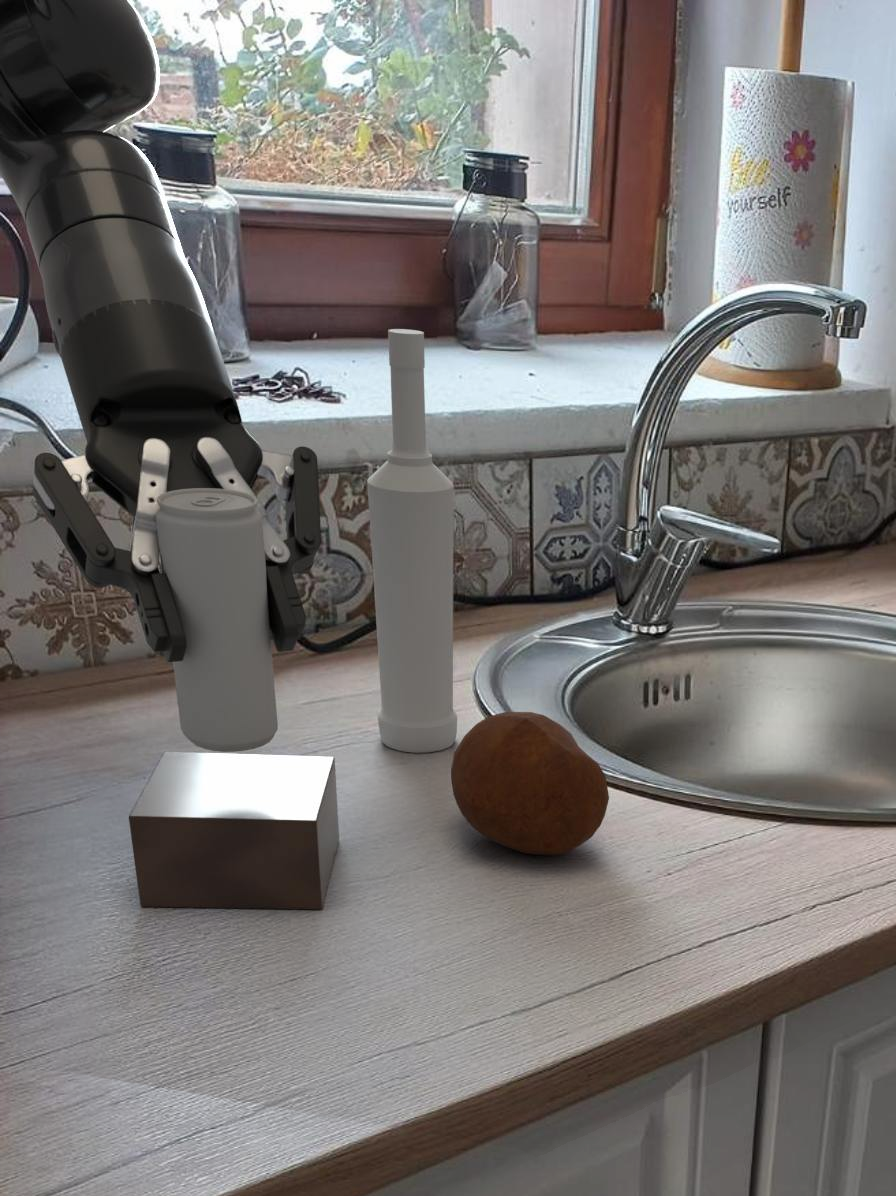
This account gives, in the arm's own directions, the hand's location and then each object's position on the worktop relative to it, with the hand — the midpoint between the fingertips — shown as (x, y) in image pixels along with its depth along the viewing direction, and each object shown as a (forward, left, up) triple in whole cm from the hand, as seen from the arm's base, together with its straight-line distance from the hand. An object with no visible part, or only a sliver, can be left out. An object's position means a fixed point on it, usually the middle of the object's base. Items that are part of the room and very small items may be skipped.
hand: (234, 647), depth 75 cm
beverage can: (-1, +2, -6) cm, 6 cm away
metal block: (-1, +2, -13) cm, 13 cm away
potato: (+14, +7, -13) cm, 20 cm away
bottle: (+7, +23, -13) cm, 27 cm away
